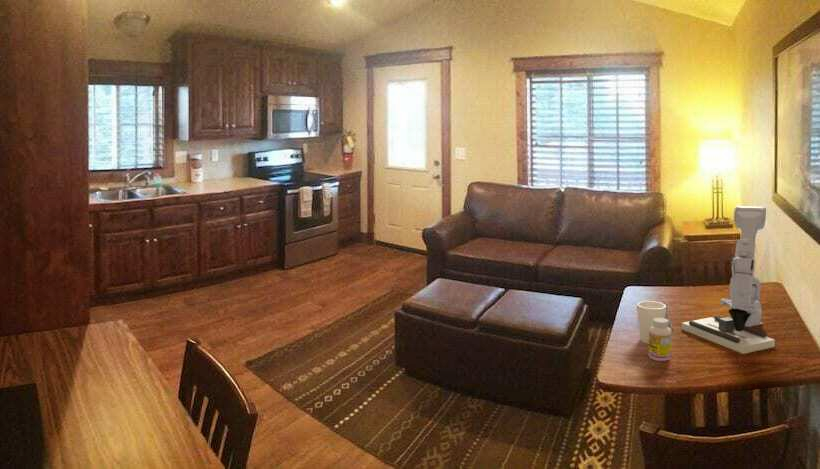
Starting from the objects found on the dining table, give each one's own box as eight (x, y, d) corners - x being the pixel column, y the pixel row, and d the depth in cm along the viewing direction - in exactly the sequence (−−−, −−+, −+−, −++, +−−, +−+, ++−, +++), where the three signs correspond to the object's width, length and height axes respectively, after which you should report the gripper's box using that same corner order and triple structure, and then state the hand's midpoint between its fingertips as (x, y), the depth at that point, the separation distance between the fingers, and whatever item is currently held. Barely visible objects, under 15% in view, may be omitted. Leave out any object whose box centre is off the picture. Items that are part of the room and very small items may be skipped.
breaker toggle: (727, 327, 209) (727, 317, 209) (734, 330, 207) (735, 319, 206) (718, 329, 208) (719, 318, 207) (725, 332, 205) (726, 321, 204)
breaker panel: (710, 323, 222) (711, 316, 222) (774, 346, 198) (775, 339, 198) (681, 329, 217) (681, 322, 217) (743, 353, 193) (743, 346, 193)
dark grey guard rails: (717, 319, 219) (717, 315, 219) (766, 336, 200) (766, 332, 200) (688, 325, 214) (688, 320, 214) (736, 343, 196) (736, 338, 196)
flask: (675, 333, 214) (676, 306, 212) (654, 332, 215) (655, 306, 214) (670, 326, 221) (672, 300, 219) (650, 325, 222) (651, 300, 221)
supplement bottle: (644, 354, 196) (645, 317, 194) (663, 353, 197) (665, 315, 194) (654, 362, 189) (655, 323, 187) (674, 361, 190) (676, 322, 188)
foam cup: (666, 346, 202) (668, 309, 200) (637, 344, 204) (639, 308, 202) (662, 336, 211) (663, 301, 209) (634, 335, 213) (635, 300, 211)
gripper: (714, 288, 205) (712, 325, 208) (751, 299, 192) (748, 339, 194) (730, 285, 208) (727, 322, 210) (767, 296, 194) (764, 335, 197)
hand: (738, 330), depth 202 cm, fingers closed
